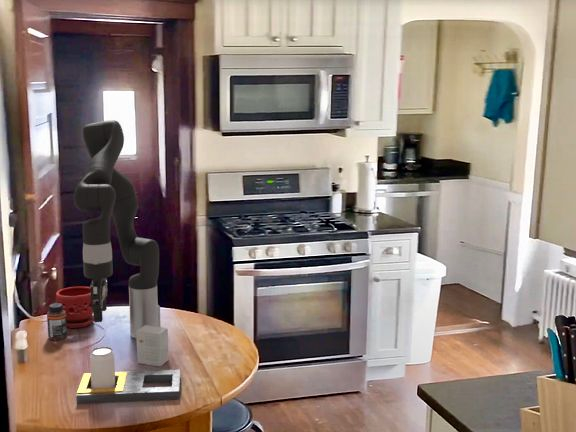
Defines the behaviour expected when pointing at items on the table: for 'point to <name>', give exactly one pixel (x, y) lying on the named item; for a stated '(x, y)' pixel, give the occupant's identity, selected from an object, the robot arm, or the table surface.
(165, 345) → the small box
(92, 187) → the robot arm
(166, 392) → the grey slotted tray
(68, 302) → the plant pot
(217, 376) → the table surface
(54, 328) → the supplement bottle
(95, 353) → the can
